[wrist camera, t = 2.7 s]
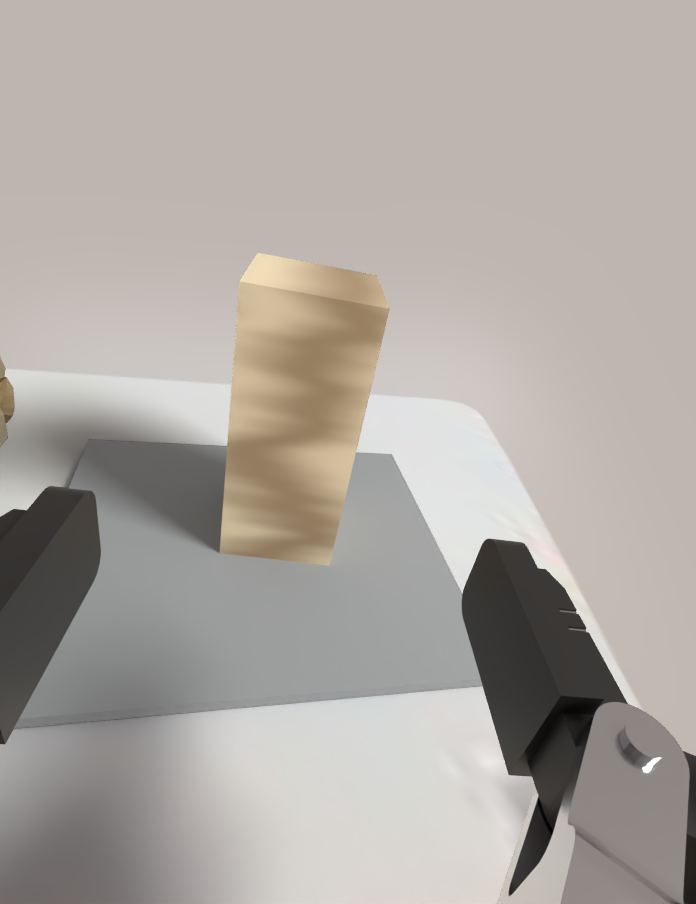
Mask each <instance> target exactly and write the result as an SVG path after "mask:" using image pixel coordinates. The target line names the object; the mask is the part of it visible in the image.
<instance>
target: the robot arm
mask: <svg viewBox="0 0 696 904" xmlns="http://www.w3.org/2000/svg"><path fill="white" fill-rule="evenodd" d="M100 558H101V545H100V535H99V525H98V515H97V505H96V497H95V495H94V493H93V492H92V491H88V490H80V489H71V488H63V487H54V486H50V487H47V488H46V489H45V490H44V491H43V492H42V493H41V494H40V495H39V497H38V498H37V499H36V500H35V501H34V503H33V504H32V505H31V506H30V507H29V509H28V510H18V509H13V510H11V511H10V512H8V513H6V514H5V515H3V516H1V517H0V744H6V742H7V740H8V738H9V736H10V734H11V733H12V731H13V729H14V727H15V725H16V723H17V722H18V720H19V718H20V716H21V714H22V712H23V711H24V709H25V707H26V705H27V703H28V701H29V700H30V698H31V696H32V694H33V692H34V690H35V688H36V687H37V685H38V683H39V681H40V679H41V677H42V676H43V674H44V672H45V670H46V668H47V666H48V665H49V663H50V661H51V659H52V657H53V655H54V654H55V652H56V650H57V648H58V646H59V644H60V643H61V641H62V639H63V637H64V635H65V633H66V632H67V630H68V628H69V626H70V624H71V622H72V621H73V619H74V617H75V615H76V613H77V611H78V610H79V608H80V606H81V604H82V602H83V600H84V599H85V597H86V595H87V593H88V591H89V589H90V588H91V586H92V584H93V582H94V580H95V578H96V575H97V572H98V569H99V564H100ZM462 616H463V620H464V624H465V627H466V630H467V634H468V637H469V641H470V644H471V647H472V651H473V654H474V658H475V661H476V665H477V668H478V671H479V675H480V678H481V682H482V685H483V688H484V692H485V695H486V699H487V702H488V706H489V709H490V712H491V716H492V719H493V723H494V726H495V729H496V733H497V736H498V740H499V743H500V746H501V750H502V753H503V757H504V760H505V764H506V767H507V770H508V774H509V775H517V776H532V777H533V780H534V784H535V787H536V790H537V792H536V793H535V795H534V796H533V798H532V800H531V803H530V806H529V809H528V812H527V815H526V818H525V821H524V824H523V827H522V830H521V833H520V836H519V839H518V842H517V845H516V848H515V851H514V854H513V857H512V860H511V863H510V866H509V869H508V872H507V875H506V878H505V881H504V884H503V887H502V890H501V893H500V896H499V899H498V901H497V904H696V756H694V755H691V754H689V753H686V752H684V751H682V749H681V747H680V746H679V744H678V743H677V741H676V740H675V738H674V737H673V736H672V735H671V734H670V733H669V731H668V730H667V729H666V728H665V727H664V726H663V725H662V724H661V723H659V722H658V721H657V720H656V719H654V718H653V717H652V716H650V715H649V714H647V713H646V712H644V711H642V710H640V709H639V708H637V707H634V706H632V705H629V704H628V703H627V702H626V700H625V698H624V696H623V694H622V693H621V691H620V689H619V687H618V685H617V683H616V682H615V680H614V678H613V676H612V674H611V672H610V671H609V669H608V667H607V665H606V663H605V661H604V660H603V658H602V656H601V654H600V652H599V650H598V649H597V647H596V645H595V643H594V641H593V639H592V638H591V636H590V634H589V633H588V632H586V627H585V625H584V623H583V621H582V619H581V618H580V616H579V614H576V608H575V607H574V605H573V603H572V601H571V599H570V597H569V596H568V594H567V592H566V590H565V588H564V587H563V586H562V585H561V584H560V583H559V582H558V581H557V580H556V579H555V578H554V577H553V576H552V575H551V574H550V573H549V572H548V571H547V570H546V569H538V568H537V566H536V564H535V562H534V560H533V558H532V556H531V554H530V552H529V550H528V548H527V546H526V545H525V544H524V543H521V542H513V541H505V540H496V539H487V540H485V541H484V543H483V544H482V546H481V549H480V551H479V553H478V556H477V558H476V561H475V563H474V565H473V568H472V570H471V573H470V575H469V578H468V580H467V582H466V585H465V587H464V590H463V595H462Z"/></svg>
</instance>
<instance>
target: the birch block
mask: <svg viewBox="0 0 696 904" xmlns="http://www.w3.org/2000/svg"><path fill="white" fill-rule="evenodd" d="M388 312H389V306H388V304H387V301H386V298H385V296H384V293H383V290H382V288H381V285H380V283H379V280H378V277H377V275H372V274H366V273H360V272H356V271H351V270H345V269H340V268H334V267H329V266H325V265H319V264H314V263H309V262H304V261H298V260H293V259H288V258H283V257H278V256H272V255H267V254H262V253H258V254H257V255H256V257H255V258H254V260H253V261H252V263H251V264H250V266H249V267H248V269H247V270H246V272H245V274H244V275H243V277H242V278H241V280H240V282H239V295H238V309H237V322H236V335H235V350H234V363H233V376H232V390H231V403H230V417H229V430H228V444H227V458H226V471H225V485H224V498H223V512H222V525H221V539H220V553H223V554H232V555H240V556H249V557H258V558H267V559H275V560H284V561H293V562H302V563H311V564H319V565H328V566H330V562H331V557H332V553H333V549H334V544H335V540H336V536H337V532H338V527H339V523H340V519H341V514H342V510H343V506H344V502H345V497H346V493H347V489H348V484H349V480H350V476H351V472H352V467H353V463H354V459H355V454H356V450H357V446H358V441H359V437H360V433H361V429H362V424H363V420H364V416H365V411H366V407H367V403H368V399H369V394H370V390H371V385H372V381H373V377H374V373H375V369H376V364H377V360H378V356H379V351H380V347H381V343H382V338H383V334H384V330H385V326H386V321H387V317H388Z"/></svg>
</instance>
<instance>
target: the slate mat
mask: <svg viewBox="0 0 696 904" xmlns="http://www.w3.org/2000/svg"><path fill="white" fill-rule="evenodd" d="M226 458H227V446H215V445H195V444H175V443H155V442H135V441H115V440H94V439H89V441H88V443H87V446H86V448H85V450H84V453H83V455H82V457H81V460H80V462H79V464H78V467H77V469H76V471H75V474H74V476H73V478H72V481H71V483H70V486H69V488H71V489H80V490H88V491H92V492H93V493H94V495H95V497H96V505H97V515H98V525H99V535H100V545H101V558H100V564H99V569H98V572H97V575H96V578H95V580H94V582H93V584H92V586H91V588H90V589H89V591H88V593H87V595H86V597H85V599H84V600H83V602H82V604H81V606H80V608H79V610H78V611H77V613H76V615H75V617H74V619H73V621H72V622H71V624H70V626H69V628H68V630H67V632H66V633H65V635H64V637H63V639H62V641H61V643H60V644H59V646H58V648H57V650H56V652H55V654H54V655H53V657H52V659H51V661H50V663H49V665H48V666H47V668H46V670H45V672H44V674H43V676H42V677H41V679H40V681H39V683H38V685H37V687H36V688H35V690H34V692H33V694H32V696H31V698H30V700H29V701H28V703H27V705H26V707H25V709H24V711H23V712H22V714H21V716H20V718H19V720H18V722H17V723H16V725H15V727H14V729H16V728H27V727H38V726H49V725H60V724H71V723H82V722H93V721H103V720H114V719H125V718H136V717H147V716H158V715H169V714H180V713H191V712H202V711H213V710H224V709H235V708H246V707H257V706H268V705H279V704H290V703H301V702H311V701H322V700H333V699H344V698H355V697H366V696H377V695H388V694H399V693H410V692H421V691H432V690H443V689H454V688H465V687H476V686H483V685H482V682H481V678H480V675H479V671H478V668H477V665H476V661H475V658H474V654H473V651H472V647H471V644H470V641H469V637H468V634H467V630H466V627H465V624H464V620H463V616H462V595H463V594H462V593H461V591H460V589H459V587H458V585H457V583H456V581H455V579H454V577H453V575H452V573H451V571H450V569H449V567H448V565H447V563H446V561H445V559H444V557H443V555H442V553H441V551H440V549H439V547H438V545H437V543H436V541H435V539H434V537H433V535H432V533H431V531H430V529H429V527H428V525H427V523H426V521H425V519H424V517H423V515H422V513H421V511H420V509H419V507H418V505H417V503H416V501H415V499H414V497H413V495H412V493H411V491H410V490H409V488H408V486H407V484H406V482H405V480H404V478H403V476H402V474H401V472H400V470H399V468H398V466H397V464H396V462H395V460H394V458H393V456H392V454H376V453H356V454H355V459H354V463H353V467H352V472H351V476H350V480H349V484H348V489H347V493H346V497H345V502H344V506H343V510H342V514H341V519H340V523H339V527H338V532H337V536H336V540H335V544H334V549H333V553H332V557H331V562H330V566H328V565H319V564H311V563H302V562H293V561H284V560H275V559H267V558H258V557H249V556H240V555H232V554H223V553H220V539H221V525H222V512H223V498H224V485H225V471H226Z"/></svg>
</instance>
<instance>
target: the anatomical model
mask: <svg viewBox="0 0 696 904" xmlns="http://www.w3.org/2000/svg"><path fill="white" fill-rule="evenodd" d="M5 369H6V368H5V366H4V365H3V362H2V360H1V358H0V447H1V446H2V444H3V443H4V442H5V440H6V439H7V438H8V437H7V430H6V423H7V422H8V421H9V420H10V418H11V417H12V416H13V412H14V408H15V406H14V393H13V387H12V385H11V384H10V382H9V381H8V379H7V378H6V377H4V375H5Z"/></svg>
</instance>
